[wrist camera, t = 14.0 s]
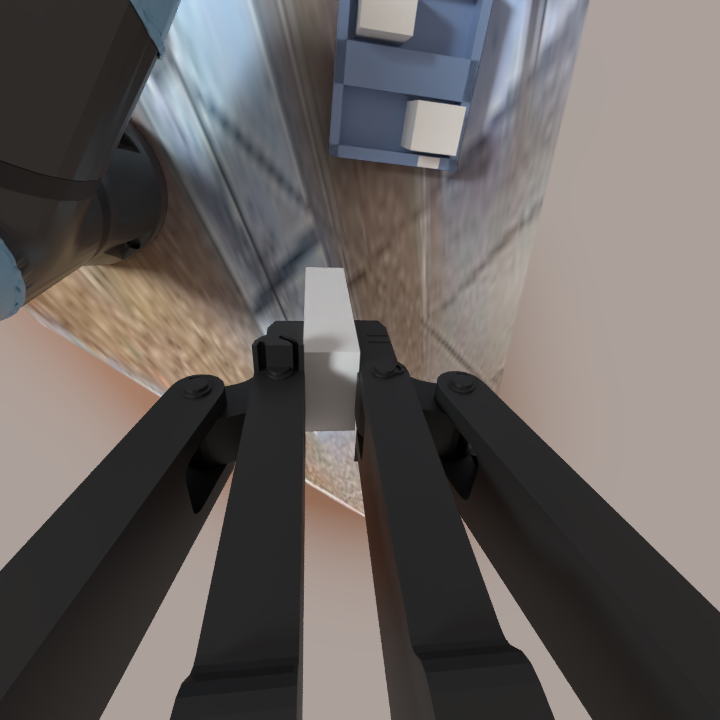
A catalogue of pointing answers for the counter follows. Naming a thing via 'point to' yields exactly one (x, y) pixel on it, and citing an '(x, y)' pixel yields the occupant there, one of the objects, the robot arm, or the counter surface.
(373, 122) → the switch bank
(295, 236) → the counter surface
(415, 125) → the white block
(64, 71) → the robot arm
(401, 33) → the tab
